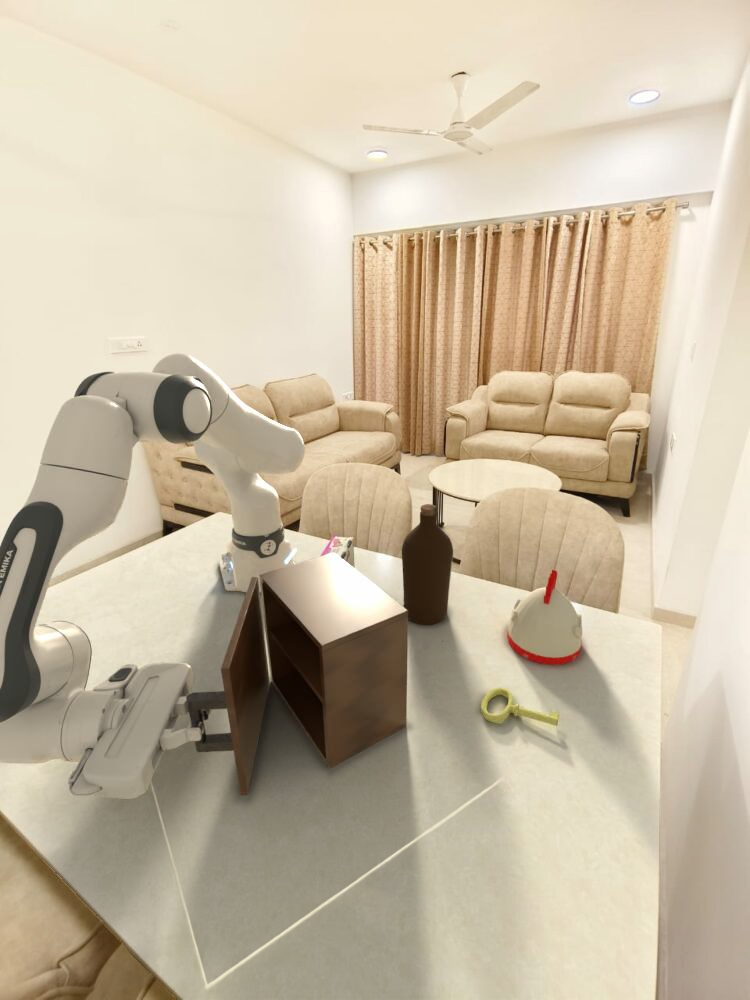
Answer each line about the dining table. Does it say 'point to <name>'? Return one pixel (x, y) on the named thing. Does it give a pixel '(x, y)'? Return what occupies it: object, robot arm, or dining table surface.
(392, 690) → the cupboard
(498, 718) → the key
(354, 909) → the dining table surface
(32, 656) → the robot arm
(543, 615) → the kitchen timer
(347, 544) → the candy bar box
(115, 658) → the dining table surface
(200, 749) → the door
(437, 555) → the olive oil
